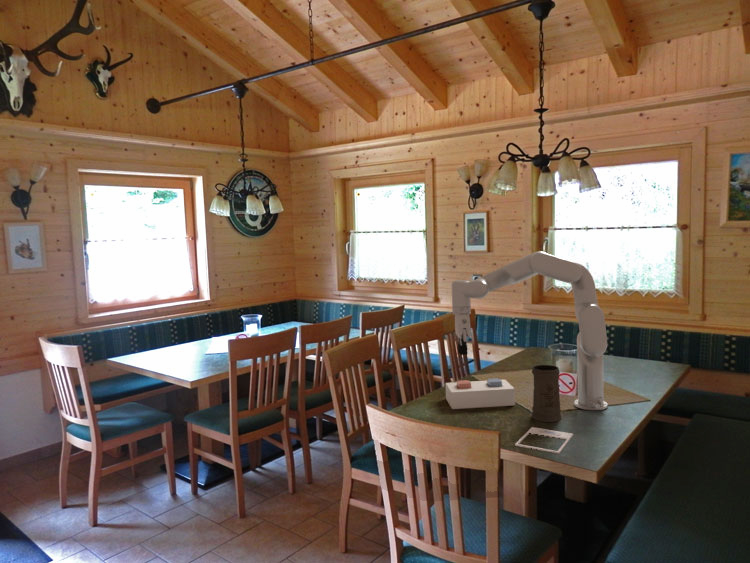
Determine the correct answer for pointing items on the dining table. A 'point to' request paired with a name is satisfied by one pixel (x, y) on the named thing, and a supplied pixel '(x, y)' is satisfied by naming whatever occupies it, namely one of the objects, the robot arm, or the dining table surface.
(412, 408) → the dining table surface
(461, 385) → the red key
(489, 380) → the blue key
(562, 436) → the photo frame
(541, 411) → the beer stein
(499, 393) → the key console
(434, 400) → the dining table surface
